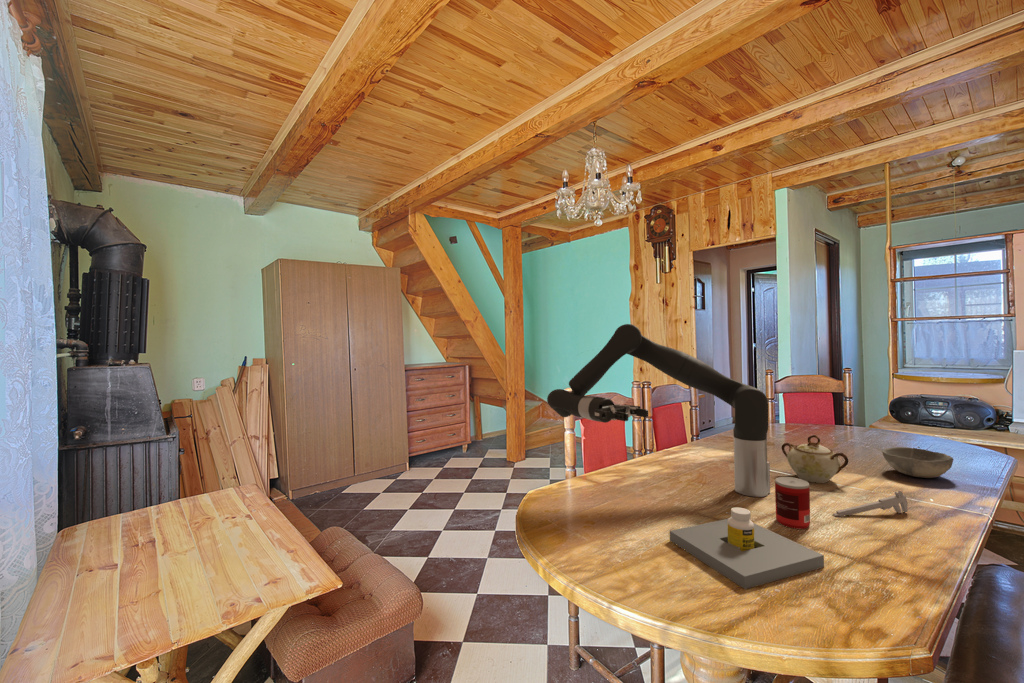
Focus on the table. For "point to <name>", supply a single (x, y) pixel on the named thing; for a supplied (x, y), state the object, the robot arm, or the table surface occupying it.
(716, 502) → the table surface
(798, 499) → the canned food
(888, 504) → the caliper
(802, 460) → the sugar bowl
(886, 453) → the bowl
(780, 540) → the socket board
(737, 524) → the supplement bottle
